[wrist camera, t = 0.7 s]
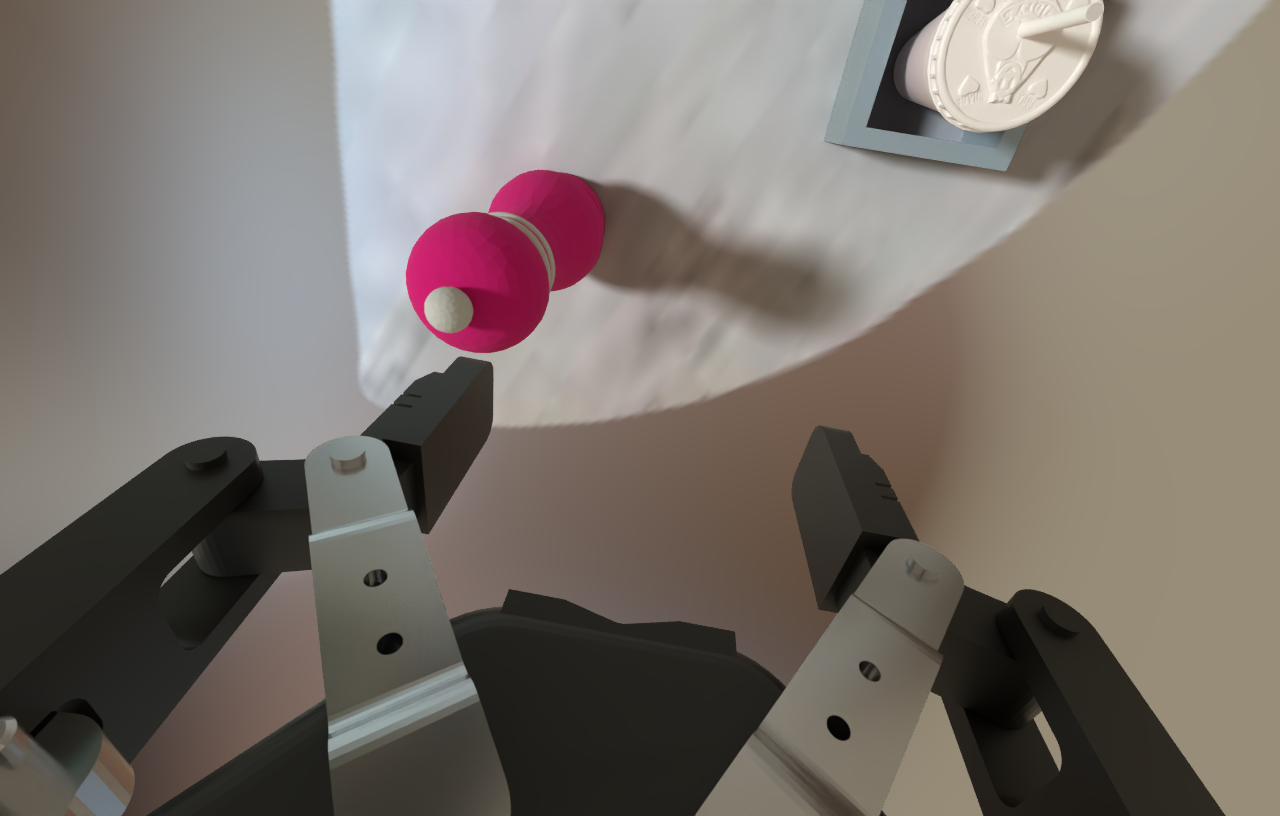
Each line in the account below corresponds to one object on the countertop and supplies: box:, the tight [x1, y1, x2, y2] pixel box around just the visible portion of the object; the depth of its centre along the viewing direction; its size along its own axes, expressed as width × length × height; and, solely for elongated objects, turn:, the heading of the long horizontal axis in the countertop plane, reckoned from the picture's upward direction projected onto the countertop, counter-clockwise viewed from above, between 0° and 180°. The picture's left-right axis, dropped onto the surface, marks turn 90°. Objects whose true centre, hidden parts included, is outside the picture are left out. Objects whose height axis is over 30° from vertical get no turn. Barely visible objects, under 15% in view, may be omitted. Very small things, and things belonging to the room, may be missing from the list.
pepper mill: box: [406, 170, 605, 353], centre depth 27 cm, size 7×7×20 cm
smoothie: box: [894, 0, 1104, 133], centre depth 23 cm, size 6×6×14 cm
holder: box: [824, 0, 1029, 171], centre depth 28 cm, size 9×9×4 cm
